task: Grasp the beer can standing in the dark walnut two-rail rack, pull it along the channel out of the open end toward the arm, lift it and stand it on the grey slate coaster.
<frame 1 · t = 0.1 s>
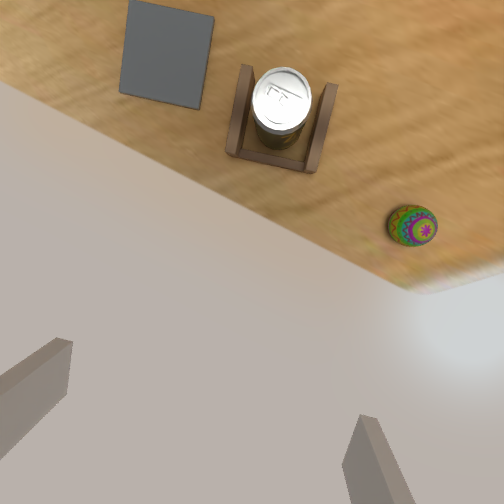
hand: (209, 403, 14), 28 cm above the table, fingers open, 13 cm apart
coaster: (166, 57, 36), on the table
egg: (402, 223, 39), on the table
rack: (279, 127, 37), on the table
beer can: (279, 128, 37), on the table
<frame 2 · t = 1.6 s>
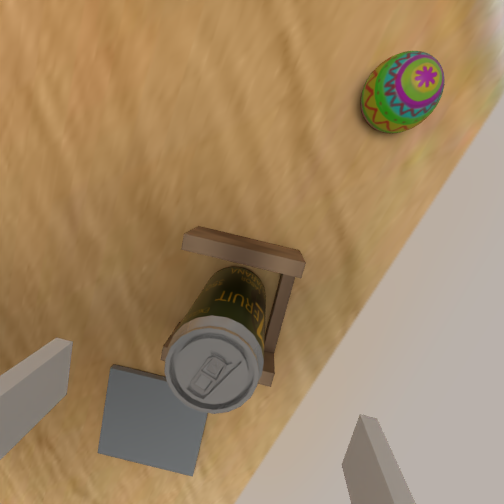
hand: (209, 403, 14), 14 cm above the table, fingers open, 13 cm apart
coaster: (155, 419, 31), on the table
egg: (385, 104, 24), on the table
rack: (235, 293, 27), on the table
beer can: (236, 292, 28), on the table
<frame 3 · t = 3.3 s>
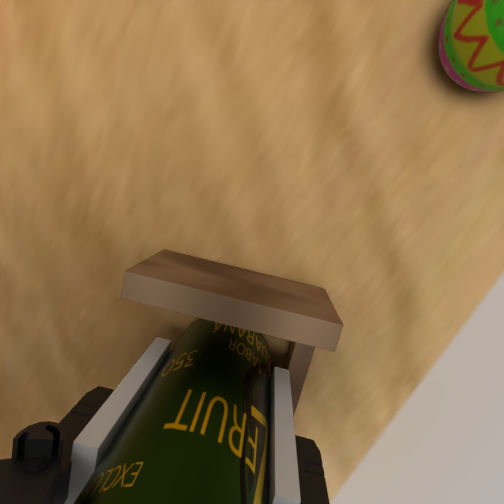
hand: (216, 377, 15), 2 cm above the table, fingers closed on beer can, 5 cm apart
egg: (475, 47, 14), on the table
rack: (223, 353, 18), on the table
beer can: (224, 351, 18), on the table, touching gripper
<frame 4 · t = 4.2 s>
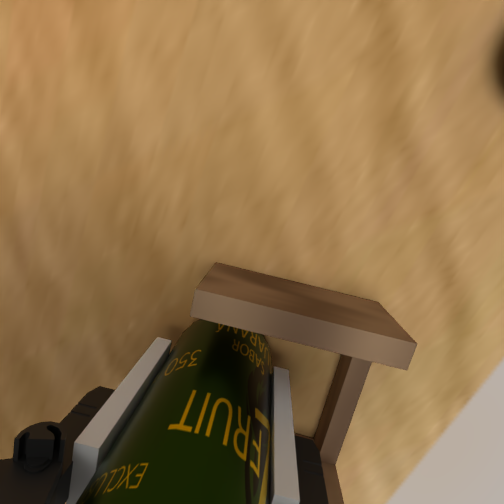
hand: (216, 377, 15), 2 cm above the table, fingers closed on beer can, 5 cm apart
rack: (273, 366, 18), on the table
beer can: (225, 351, 18), on the table, touching gripper
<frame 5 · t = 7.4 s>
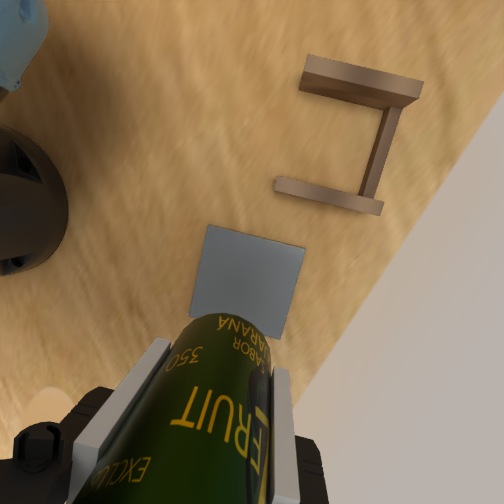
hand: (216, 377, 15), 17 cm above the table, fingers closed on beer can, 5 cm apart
coaster: (245, 282, 32), on the table
rack: (334, 146, 28), on the table
beer can: (225, 349, 18), point 14 cm above the table, touching gripper
when the fingers open (4 cm above the table, at t = 9.9 s): beer can drops 1 cm, resting on coaster.
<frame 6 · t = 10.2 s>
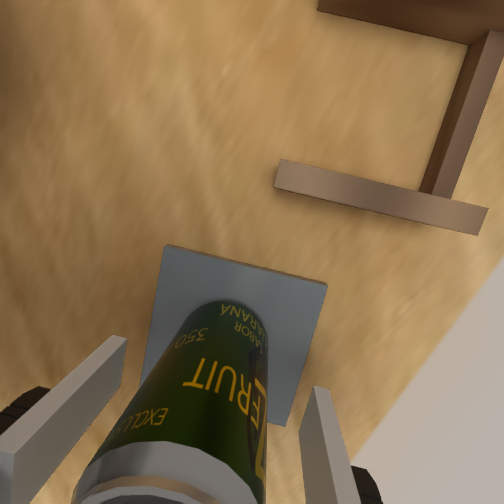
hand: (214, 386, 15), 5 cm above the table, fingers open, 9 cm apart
coaster: (229, 336, 20), on the table
rack: (377, 111, 16), on the table
beer can: (225, 336, 19), resting on coaster
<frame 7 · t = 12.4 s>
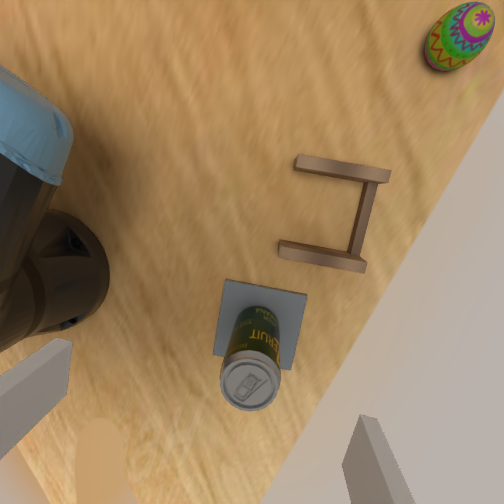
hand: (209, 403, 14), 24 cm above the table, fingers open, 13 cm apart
coaster: (258, 324, 38), on the table
egg: (442, 51, 31), on the table
rack: (325, 212, 35), on the table
beer can: (257, 323, 38), resting on coaster
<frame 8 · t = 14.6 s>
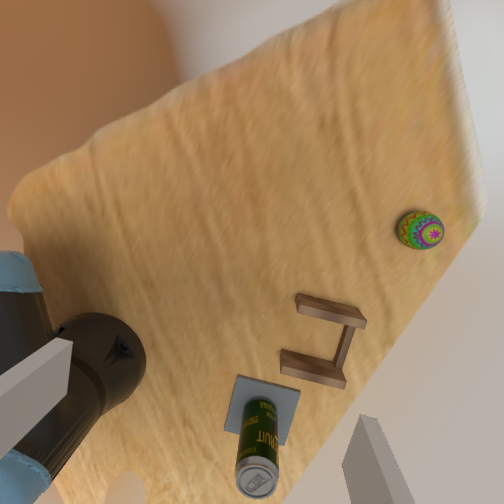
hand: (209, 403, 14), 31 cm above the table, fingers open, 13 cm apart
coaster: (261, 409, 48), on the table
egg: (410, 228, 42), on the table
rack: (317, 332, 45), on the table
beer can: (260, 409, 48), resting on coaster
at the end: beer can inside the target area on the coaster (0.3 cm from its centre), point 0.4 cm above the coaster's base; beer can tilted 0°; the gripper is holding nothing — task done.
